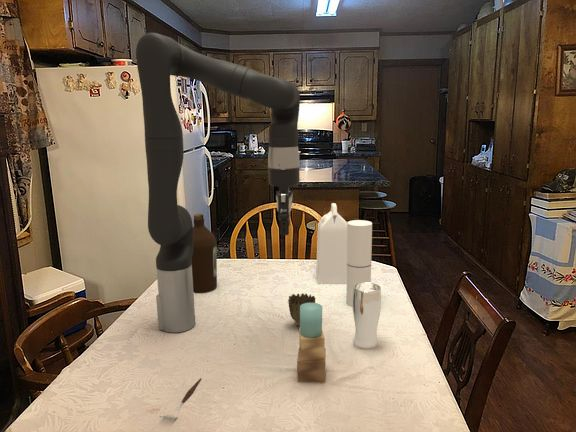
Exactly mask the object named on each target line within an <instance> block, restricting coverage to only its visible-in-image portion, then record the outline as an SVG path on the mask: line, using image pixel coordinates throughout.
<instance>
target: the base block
mask: <svg viewBox="0 0 576 432" xmlns="http://www.w3.org/2000/svg"><path fill="white" fill-rule="evenodd" d="M326 350H327V349H326V347H325V359H323V360H301V355H300V349H299V348H298V353H297V362H296V363H297V364H296V368H297V369H296V373H297V374H296V375H297V376H296V378H297V379H296V380H297V382H299V383H326V366H327V365H326V362H327V360H326V358H327V355H326V354H327V353H326V352H327V351H326Z"/></svg>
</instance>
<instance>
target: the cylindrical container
mask: <svg viewBox="0 0 576 432" xmlns="http://www.w3.org/2000/svg"><path fill="white" fill-rule="evenodd" d="M346 222H347V284H346V302H345V303H346V305H347V306H349V307H351V308H353V305H352V301H353V289H354V285H355V284H357V283H362V282H370V283H372V247H373V246H372V245H373V244H372V243H373V222H372V221H369V220H364V219H362V220H361V219H353V220H349V221H346Z"/></svg>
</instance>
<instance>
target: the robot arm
mask: <svg viewBox="0 0 576 432" xmlns="http://www.w3.org/2000/svg"><path fill="white" fill-rule="evenodd" d="M135 61H136V66H137V67H136V68H137V72H138V79H139V83H140V89H141V90H140V91H141V98H142V114H143V115H142V116H143V125H144V126H143V127H144V129H143V130H144V144H145V145H144V146H145V147H144V148H145V158H146V171H147V184H148V185H147V186H148V204H147V206H148V208H147V230H148V233H149V236H150V238H151V239H152V240H153V242H154V243H156V244H157V245H159V246H160V247H159V251H158V253H157V255H156V258H155V267H156V268H155V269H156V279H157V291H158V294H157V295H156V298H155V302H156V311H157V325H158V330H159V331H164V332H166V333H173V334H175V333H183V332H186V331H189V330H191V329H192V328H194V327H195V325H196V310H195V292H193V277H192V255H193V227H194V223H193V219H192V216H191V214H190V212H189V210H187V208H185V207H184V206H182V205H178V185H179V181H180V175H181V172H182V167H183V162H184V151H185V149H184V134H183V128H182V123H181V120H180V117H179V115H178V112H177V110H176V108H175V104H174V102H173V98H172V89H171V76H172V77H182V78H186V79H187V78H188V79H192V80H196V81H199V82H201V83H204V84H205V85H209V86H211V87H212V88H215V89H216V90H219V91H221V92H224V93H226V94H230V95H232V96H235V97H239V98H242V99H245V100H248V101H252V102H254V103H257V104H258V105H261V106H264V107H265V108H268V109H271V122H270V124H269V127H268V155H267V157H268V158H267V162H268V165H267V167H268V170H267V171H268V185H270V186H271V187H277V188H278V191H276V193H275V200H276V211H277V214H278V215H277V219H278V221H279V235H281V236H288V235H290V226H291V215H290V214H291V213H290V212H291V211H292V206H293V205H292V203H293V191H291V187H296V186H298V185H300V182H301V181H300V153H299V130H298V129H299V128H298V126H299V125H298V122H299V117H300V115H299V114H300V103H301V101H300V100H301V99H300V92H299V89H298V87H297V85H296V84H295V83H293V82H292V81H290V80H287V79H283V78H279V77H275V76H272V75H268V74H265V73H261V72H259V71H257V70H255V69H252V68H250V67H246V66H243V65H241V64H237V63H234V62H231V61H227V60H223V59H217V58H214V57H210V56H208V55H205V54H202V53H199V52H197V51H194V50H192V49H191V48H189V47H187V46H185V45H184V44H183V45H182V44H181V43H179V42H178V41H176V40H175V39H173V38H172V37H170V36H166V35H163V34H160V33H157V32H148V33H144V34H143V35H142V36H141V37H140V38H139V39H138V42H137V44H136V47H135Z"/></svg>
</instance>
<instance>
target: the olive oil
mask: <svg viewBox="0 0 576 432" xmlns="http://www.w3.org/2000/svg"><path fill="white" fill-rule="evenodd" d="M204 215H205V214H203V213H195V214H193V219H192V221H193V255H192V277H193V292H194V294H195V293H196V294H198V293H199V294H204V293H209V292H212V291H214V290H216V289H217V288H218V274H217V273H218V272H217V271H218V268H217V267H218V263H217V261H218V257H217V256H218V254H217V253H218V251H217V250H218V245H217V244H218V242H217V239H216V236H215V235H214V233H213V232H212V231H210V229H209V228H207V227H206V225H205V218H204Z"/></svg>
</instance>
